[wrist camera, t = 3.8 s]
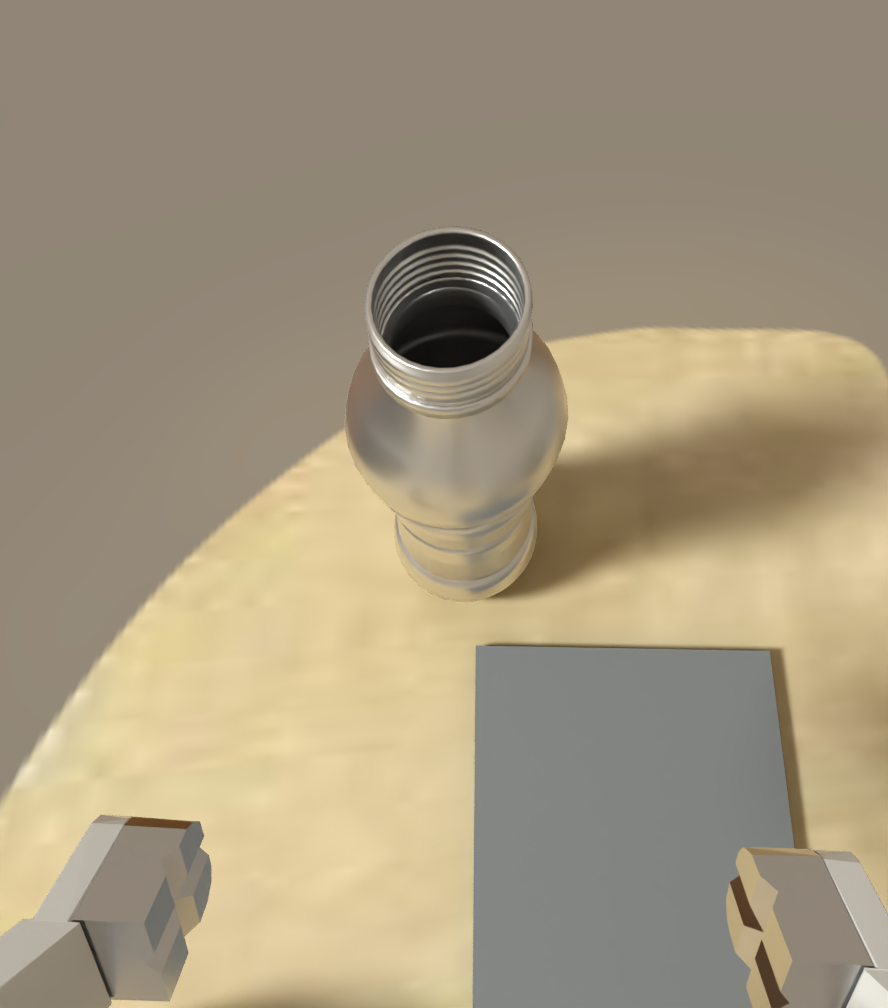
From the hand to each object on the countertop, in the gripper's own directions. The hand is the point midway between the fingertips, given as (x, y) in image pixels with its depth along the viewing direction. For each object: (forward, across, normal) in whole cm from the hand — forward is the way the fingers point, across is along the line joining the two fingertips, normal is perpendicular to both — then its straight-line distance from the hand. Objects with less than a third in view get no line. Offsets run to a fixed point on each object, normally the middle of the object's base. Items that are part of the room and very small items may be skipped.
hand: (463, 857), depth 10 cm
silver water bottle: (+22, 0, +7) cm, 23 cm away
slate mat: (+14, -7, +16) cm, 22 cm away
